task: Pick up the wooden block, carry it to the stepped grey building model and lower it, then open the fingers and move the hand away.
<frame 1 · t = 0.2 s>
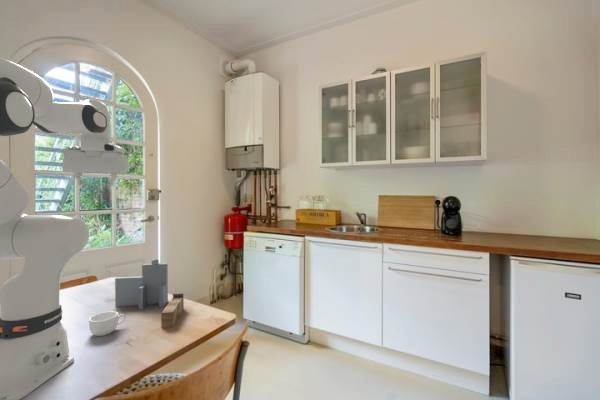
hand: (96, 185, 102), 47 cm above the table, fingers open, 8 cm apart
wooden block: (172, 318, 102), on the table
stepped grey building model: (153, 304, 114), on the table
teacup: (108, 332, 92), on the table
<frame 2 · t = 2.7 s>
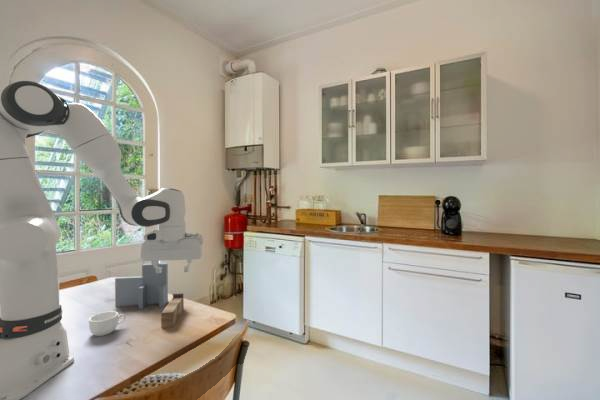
hand: (172, 272, 101), 17 cm above the table, fingers open, 8 cm apart
nothing on the table moved.
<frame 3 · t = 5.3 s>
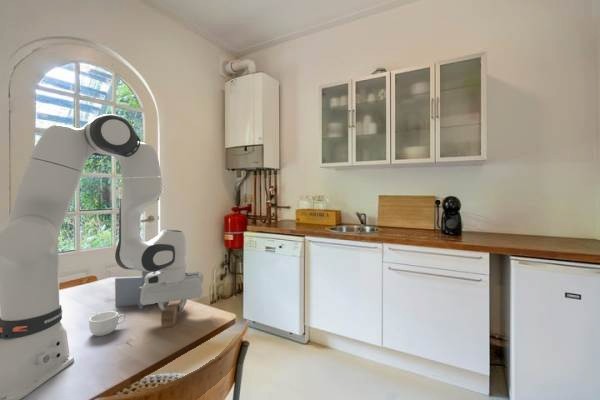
hand: (172, 312, 101), 2 cm above the table, fingers closed on wooden block, 4 cm apart
wooden block: (172, 318, 102), on the table, touching gripper
everything else where it was.
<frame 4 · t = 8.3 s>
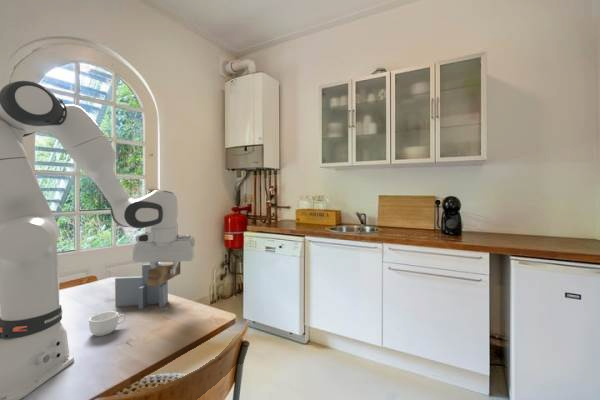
hand: (164, 273, 102), 16 cm above the table, fingers closed on wooden block, 4 cm apart
wooden block: (164, 279, 102), point 14 cm above the table, touching gripper
everything else where it was.
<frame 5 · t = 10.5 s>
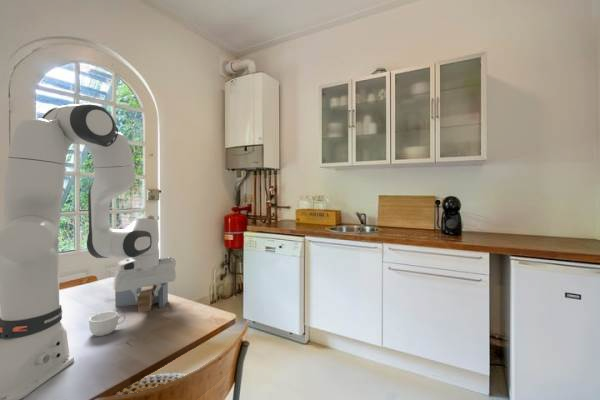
hand: (146, 297, 105), 6 cm above the table, fingers closed on wooden block, 4 cm apart
wooden block: (146, 302, 105), point 4 cm above the table, touching gripper
everything else where it was.
when the fingers open (3 cm above the table, at t = 11.9 s): wooden block drops 1 cm, on the table.
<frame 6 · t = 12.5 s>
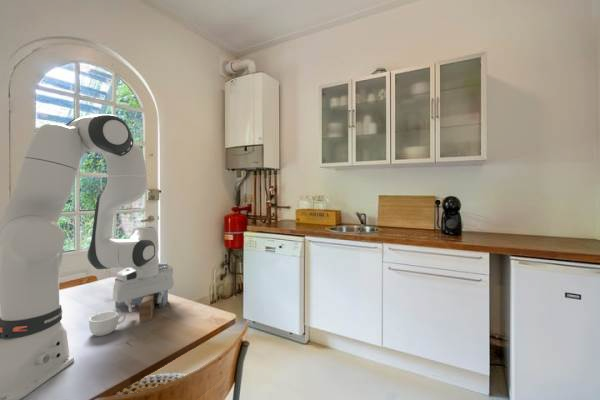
hand: (145, 306, 105), 3 cm above the table, fingers open, 8 cm apart
wooden block: (147, 313, 106), on the table
everything else where it was.
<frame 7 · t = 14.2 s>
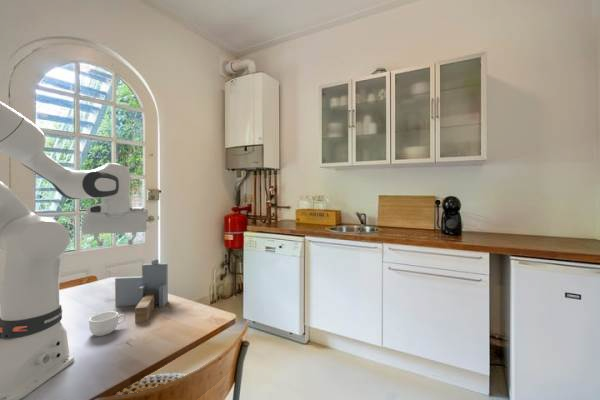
hand: (115, 245, 105), 26 cm above the table, fingers open, 8 cm apart
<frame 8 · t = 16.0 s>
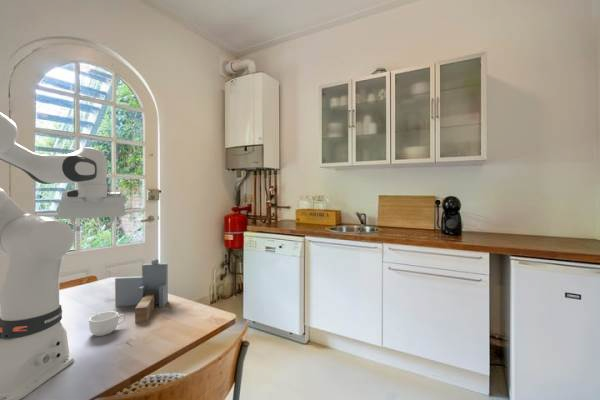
hand: (93, 230, 105), 31 cm above the table, fingers open, 8 cm apart
nothing on the table moved.
at the end: wooden block 0.3 cm from the target spot on the table beside the stepped grey building model, on the table; wooden block tilted 0°; the gripper is holding nothing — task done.
